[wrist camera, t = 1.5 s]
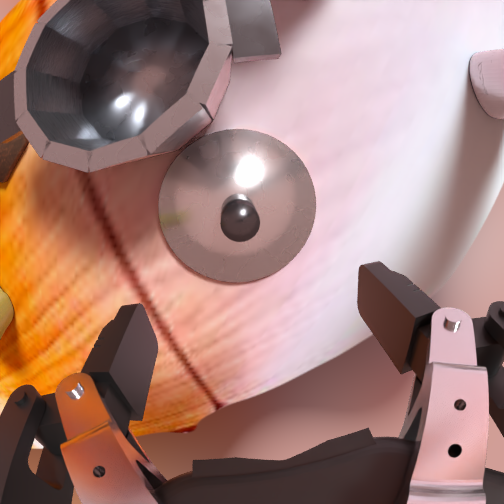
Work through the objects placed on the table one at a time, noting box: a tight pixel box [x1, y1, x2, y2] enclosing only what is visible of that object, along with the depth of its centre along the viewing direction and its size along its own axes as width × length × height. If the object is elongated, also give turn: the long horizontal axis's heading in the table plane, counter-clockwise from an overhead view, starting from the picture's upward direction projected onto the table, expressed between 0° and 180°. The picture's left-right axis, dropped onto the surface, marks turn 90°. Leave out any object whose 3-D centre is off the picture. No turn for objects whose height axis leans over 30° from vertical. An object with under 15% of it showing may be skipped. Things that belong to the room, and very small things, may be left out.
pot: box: [0, 0, 281, 173], centre depth 15 cm, size 19×14×9 cm
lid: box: [158, 129, 316, 282], centre depth 22 cm, size 14×14×5 cm
